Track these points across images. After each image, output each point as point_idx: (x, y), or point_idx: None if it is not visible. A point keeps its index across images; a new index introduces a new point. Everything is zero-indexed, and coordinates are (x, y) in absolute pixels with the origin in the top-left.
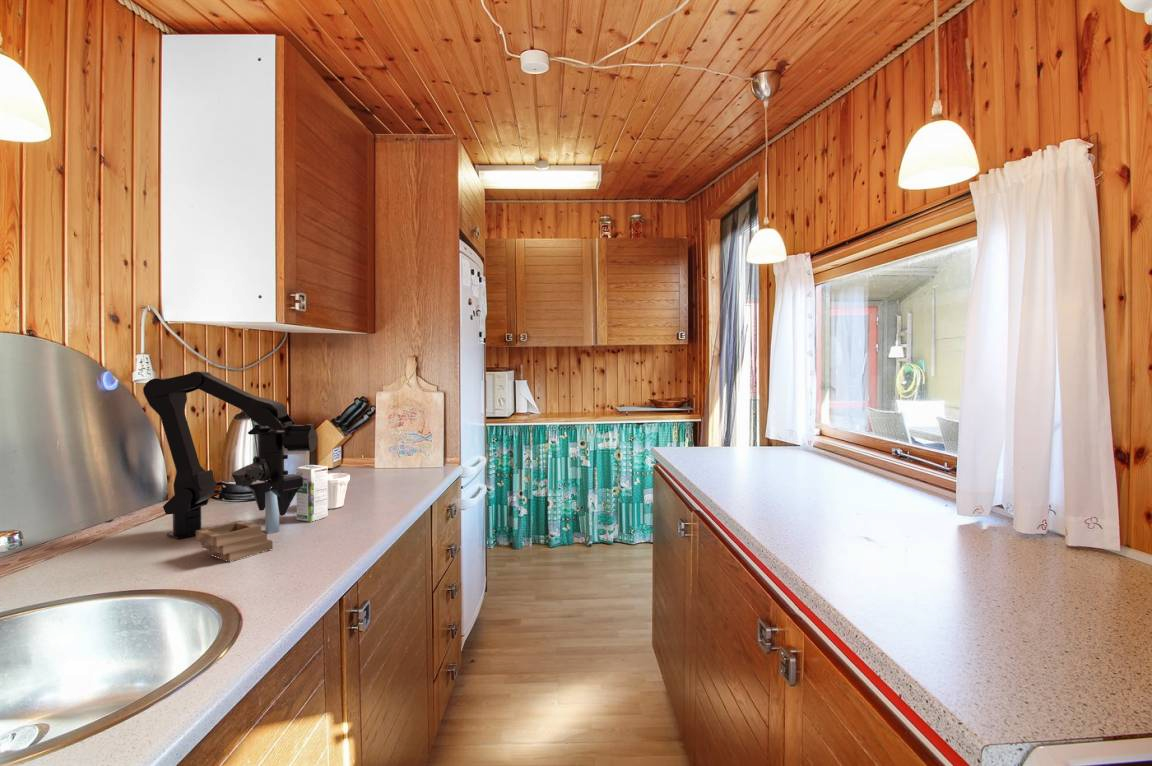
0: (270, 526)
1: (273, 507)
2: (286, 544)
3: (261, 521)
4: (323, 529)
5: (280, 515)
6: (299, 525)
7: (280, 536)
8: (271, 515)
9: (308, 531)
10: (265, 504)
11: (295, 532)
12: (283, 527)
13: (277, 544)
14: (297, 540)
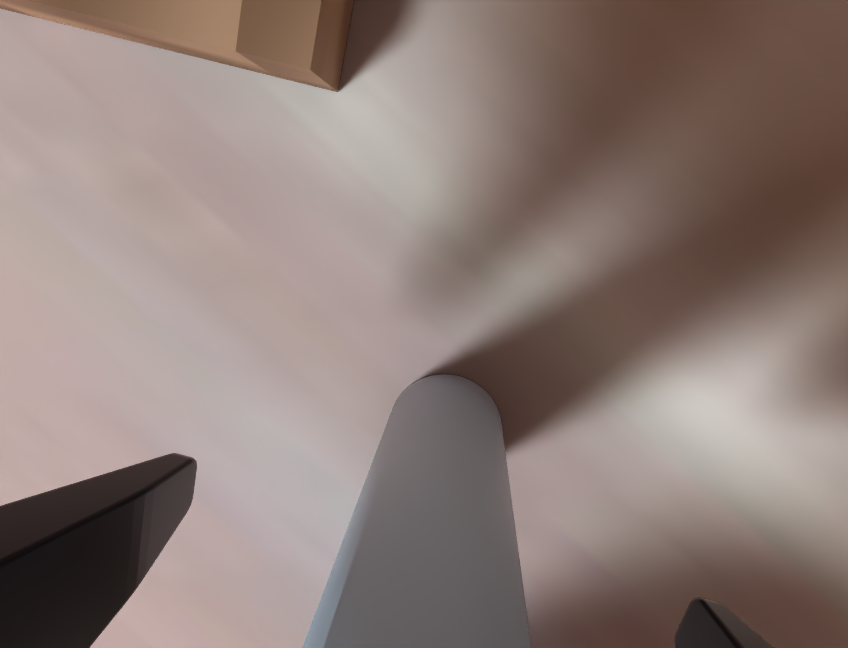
0: (407, 406)
1: (335, 577)
2: (5, 167)
3: (805, 635)
4: None
5: (180, 455)
6: None
7: (251, 330)
8: (375, 476)
9: None
10: (474, 596)
11: (227, 449)
12: None
13: (74, 141)
14: (21, 282)
